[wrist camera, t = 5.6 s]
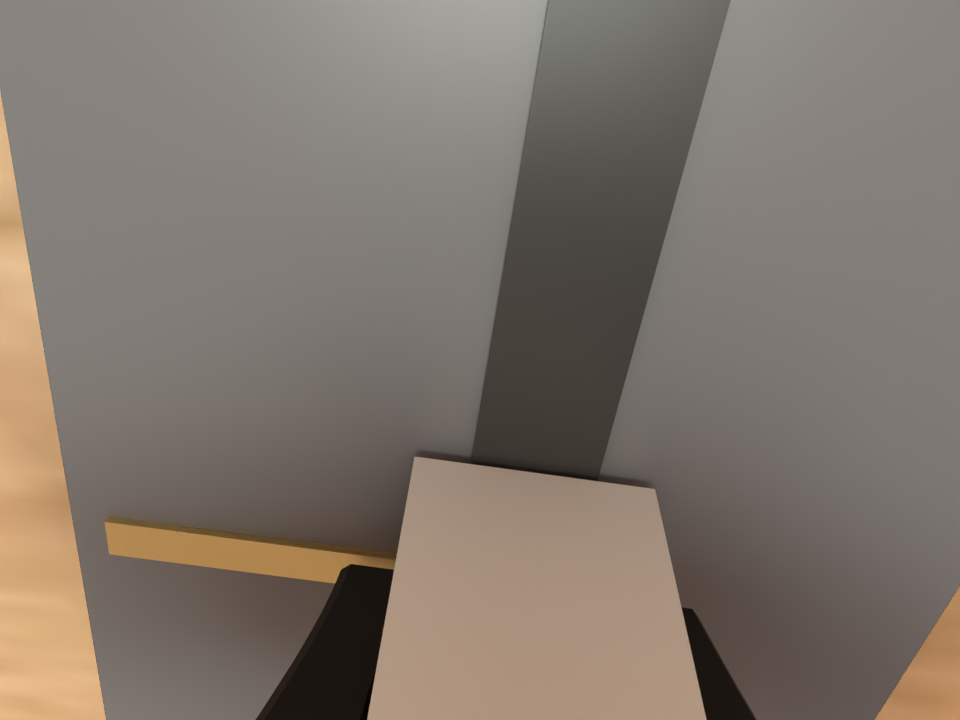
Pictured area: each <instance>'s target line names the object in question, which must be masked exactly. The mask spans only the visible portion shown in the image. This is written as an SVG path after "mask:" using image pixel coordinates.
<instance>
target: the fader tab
mask: <svg viewBox="0 0 960 720" xmlns="http://www.w3.org/2000/svg"><path fill="white" fill-rule="evenodd" d="M367 720H706V715H705V711H704V706H703V702H702V697H701V693H700V688H699V684H698V679H697V675H696V670H695V666H694V661H693V657H692V652H691V648H690V643H689V639H688V634H687V630H686V625H685V621H684V616H683V612H682V607H681V603H680V599H679V594H678V590H677V585H676V581H675V576H674V572H673V567H672V563H671V558H670V554H669V549H668V545H667V540H666V536H665V531H664V527H663V522H662V518H661V513H660V509H659V504H658V500H657V495H656V491H655V489H651V488H644V487H636V486H629V485H621V484H614V483H607V482H599V481H592V480H585V479H577V478H570V477H562V476H555V475H548V474H540V473H533V472H526V471H518V470H511V469H503V468H496V467H489V466H481V465H474V464H467V463H459V462H452V461H444V460H437V459H430V458H422V457H414V462H413V468H412V473H411V479H410V484H409V490H408V495H407V501H406V507H405V512H404V518H403V523H402V529H401V534H400V540H399V545H398V551H397V557H396V562H395V568H394V573H393V579H392V584H391V590H390V595H389V601H388V607H387V612H386V618H385V623H384V629H383V634H382V640H381V645H380V651H379V656H378V662H377V668H376V673H375V679H374V684H373V690H372V695H371V701H370V706H369V712H368V718H367Z"/></svg>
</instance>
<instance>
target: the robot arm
mask: <svg viewBox="0 0 960 720" xmlns="http://www.w3.org/2000/svg"><path fill="white" fill-rule="evenodd" d="M393 573H394V570H393V569H385V568H378V567H370V566H363V565H355V564H350V565H348V566H346V567H345V568H343V569H341V571H340V573H339V576H338V578H337V581H336V583H335V585H334V588H333V590H332V592H331V594H330V596H329V598H328V600H327V602H326V604H325V606H324V608H323V610H322V612H321V614H320V616H319V618H318V619H317V621H316V623H315V625H314V627H313V629H312V630H311V632H310V634H309V636H308V637H307V639H306V641H305V642H304V644H303V646H302V647H301V649H300V651H299V653H298V654H297V656H296V658H295V659H294V661H293V663H292V664H291V666H290V667H289V669H288V670H287V672H286V673H285V675H284V677H283V678H282V680H281V681H280V683H279V684H278V686H277V687H276V689H275V691H274V692H273V694H272V695H271V697H270V698H269V700H268V701H267V703H266V704H265V706H264V708H263V709H262V711H261V712H260V714H259V715H258V717H257V718H256V720H367V718H368V712H369V706H370V701H371V695H372V690H373V684H374V679H375V673H376V668H377V662H378V656H379V651H380V645H381V640H382V634H383V629H384V623H385V618H386V612H387V607H388V601H389V595H390V590H391V584H392V579H393ZM682 612H683V616H684V621H685V625H686V630H687V634H688V639H689V643H690V648H691V652H692V657H693V661H694V666H695V670H696V675H697V679H698V684H699V688H700V693H701V697H702V702H703V706H704V711H705V715H706V720H757V719H756V717H755V716H754V714H753V712H752V711H751V709H750V707H749V706H748V704H747V702H746V700H745V699H744V697H743V695H742V694H741V692H740V690H739V688H738V687H737V685H736V683H735V682H734V680H733V678H732V676H731V675H730V673H729V671H728V669H727V668H726V666H725V664H724V662H723V661H722V659H721V657H720V655H719V653H718V652H717V650H716V648H715V646H714V644H713V643H712V641H711V639H710V637H709V636H708V634H707V632H706V630H705V628H704V627H703V625H702V623H701V621H700V619H699V618H698V616H697V615H696V613H695V612H694V611H693V609H690V608H682Z"/></svg>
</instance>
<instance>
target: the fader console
mask: <svg viewBox="0 0 960 720" xmlns="http://www.w3.org/2000/svg"><path fill="white" fill-rule="evenodd" d="M0 91H1V97H2V103H3V109H4V115H5V121H6V126H7V132H8V138H9V144H10V150H11V156H12V162H13V168H14V174H15V180H16V186H17V192H18V198H19V204H20V210H21V216H22V222H23V228H24V234H25V239H26V245H27V251H28V257H29V263H30V269H31V275H32V281H33V287H34V293H35V299H36V305H37V311H38V317H39V323H40V329H41V335H42V341H43V347H44V352H45V358H46V364H47V370H48V376H49V382H50V388H51V394H52V400H53V406H54V412H55V418H56V424H57V430H58V436H59V442H60V448H61V454H62V460H63V465H64V471H65V477H66V483H67V489H68V495H69V501H70V507H71V513H72V519H73V525H74V531H75V537H76V543H77V549H78V555H79V561H80V567H81V573H82V578H83V584H84V590H85V596H86V602H87V608H88V614H89V620H90V626H91V632H92V638H93V644H94V650H95V656H96V662H97V668H98V674H99V680H100V686H101V691H102V697H103V703H104V709H105V715H106V720H256V718H257V717H258V715H259V714H260V712H261V711H262V709H263V708H264V706H265V704H266V703H267V701H268V700H269V698H270V697H271V695H272V694H273V692H274V691H275V689H276V687H277V686H278V684H279V683H280V681H281V680H282V678H283V677H284V675H285V673H286V672H287V670H288V669H289V667H290V666H291V664H292V663H293V661H294V659H295V658H296V656H297V654H298V653H299V651H300V649H301V647H302V646H303V644H304V642H305V641H306V639H307V637H308V636H309V634H310V632H311V630H312V629H313V627H314V625H315V623H316V621H317V619H318V618H319V616H320V614H321V612H322V610H323V608H324V606H325V604H326V602H327V600H328V598H329V596H330V594H331V592H332V590H333V588H334V585H335V583H336V581H337V578H338V576H339V573H340V571H341V569H343V568H345V567H346V566H348V565H350V564H355V565H363V566H370V567H378V568H385V569H393V570H394V568H395V562H396V557H397V551H398V545H399V540H400V534H401V529H402V523H403V518H404V512H405V507H406V501H407V495H408V490H409V484H410V479H411V473H412V468H413V462H414V457H422V458H430V459H437V460H444V461H452V462H459V463H467V464H474V465H481V466H489V467H496V468H503V469H511V470H518V471H526V472H533V473H540V474H548V475H555V476H562V477H570V478H577V479H585V480H592V481H599V482H607V483H614V484H621V485H629V486H636V487H644V488H651V489H655V491H656V495H657V500H658V504H659V509H660V513H661V518H662V522H663V527H664V531H665V536H666V540H667V545H668V549H669V554H670V558H671V563H672V567H673V572H674V576H675V581H676V585H677V590H678V594H679V599H680V603H681V607H682V608H690V609H693V611H694V612H695V613H696V615H697V616H698V618H699V619H700V621H701V623H702V625H703V627H704V628H705V630H706V632H707V634H708V636H709V637H710V639H711V641H712V643H713V644H714V646H715V648H716V650H717V652H718V653H719V655H720V657H721V659H722V661H723V662H724V664H725V666H726V668H727V669H728V671H729V673H730V675H731V676H732V678H733V680H734V682H735V683H736V685H737V687H738V688H739V690H740V692H741V694H742V695H743V697H744V699H745V700H746V702H747V704H748V706H749V707H750V709H751V711H752V712H753V714H754V716H755V717H756V719H757V720H875V718H876V717H877V715H878V714H879V712H880V710H881V709H882V707H883V706H884V704H885V703H886V701H887V699H888V698H889V696H890V695H891V693H892V692H893V690H894V688H895V687H896V685H897V684H898V682H899V681H900V679H901V677H902V676H903V674H904V673H905V671H906V670H907V668H908V666H909V665H910V663H911V662H912V660H913V659H914V657H915V655H916V654H917V652H918V651H919V649H920V648H921V646H922V644H923V643H924V641H925V640H926V638H927V637H928V635H929V633H930V632H931V630H932V629H933V627H934V626H935V624H936V622H937V621H938V619H939V618H940V616H941V615H942V613H943V611H944V610H945V608H946V607H947V605H948V604H949V602H950V600H951V599H952V597H953V596H954V594H955V593H956V591H957V590H958V588H959V586H960V0H0Z"/></svg>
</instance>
